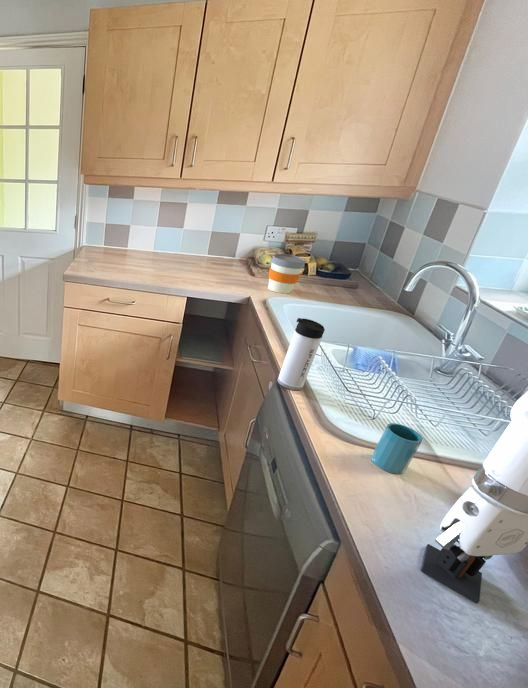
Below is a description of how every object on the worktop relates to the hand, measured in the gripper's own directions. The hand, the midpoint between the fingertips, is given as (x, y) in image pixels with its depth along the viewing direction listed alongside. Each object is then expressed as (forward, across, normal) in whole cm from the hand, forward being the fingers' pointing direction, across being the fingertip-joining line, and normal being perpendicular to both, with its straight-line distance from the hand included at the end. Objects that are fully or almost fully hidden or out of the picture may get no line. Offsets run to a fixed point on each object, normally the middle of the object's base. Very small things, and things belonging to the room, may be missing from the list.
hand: (454, 567), depth 69 cm
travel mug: (+2, +11, +53) cm, 54 cm away
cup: (+1, +12, +23) cm, 26 cm away
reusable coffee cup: (+2, +58, +123) cm, 136 cm away
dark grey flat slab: (+1, 0, 0) cm, 1 cm away
